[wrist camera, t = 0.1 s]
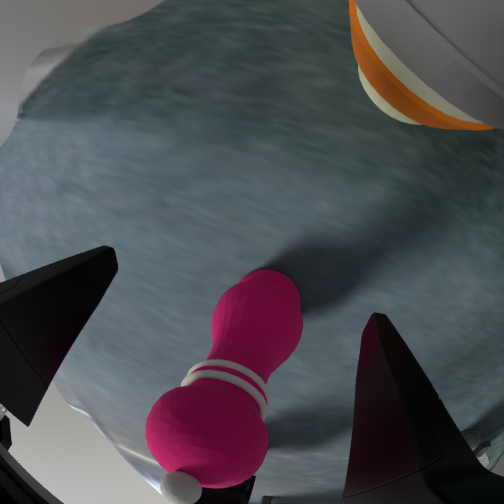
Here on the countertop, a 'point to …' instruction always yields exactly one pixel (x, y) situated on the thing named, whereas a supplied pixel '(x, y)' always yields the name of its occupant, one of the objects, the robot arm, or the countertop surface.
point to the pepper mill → (227, 391)
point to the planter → (266, 500)
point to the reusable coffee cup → (432, 60)
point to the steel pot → (477, 445)
